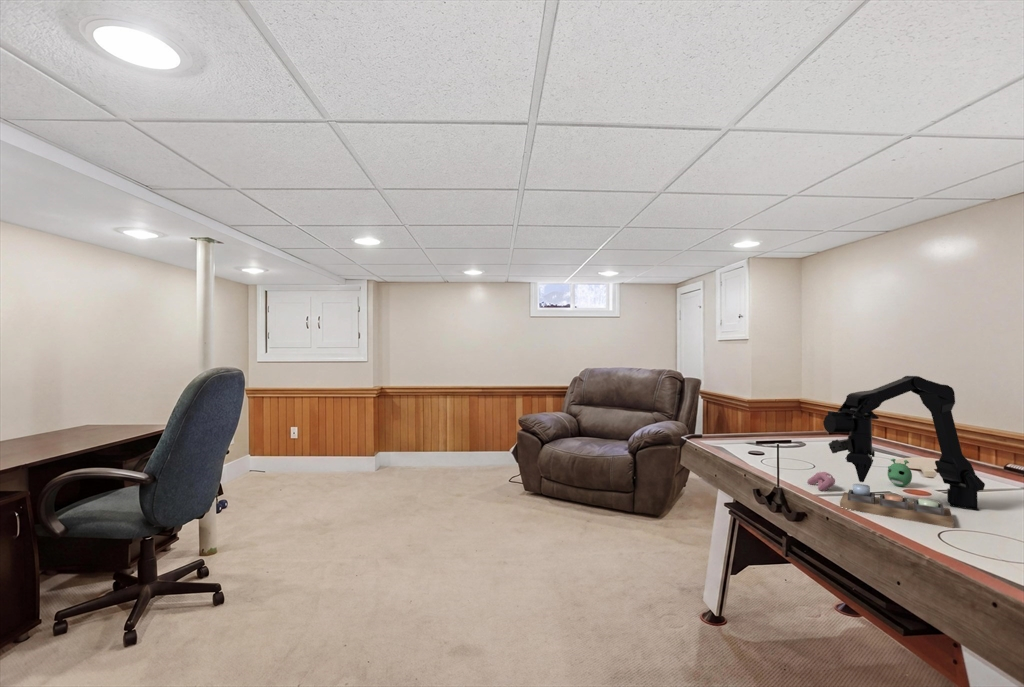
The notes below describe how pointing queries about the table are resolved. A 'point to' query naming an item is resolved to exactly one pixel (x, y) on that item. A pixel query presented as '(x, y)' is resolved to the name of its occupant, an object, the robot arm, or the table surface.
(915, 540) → the table surface
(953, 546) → the table surface
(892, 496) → the terracotta button
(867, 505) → the button panel
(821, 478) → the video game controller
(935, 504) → the sage button
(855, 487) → the slate button
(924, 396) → the robot arm
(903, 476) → the alien toy
